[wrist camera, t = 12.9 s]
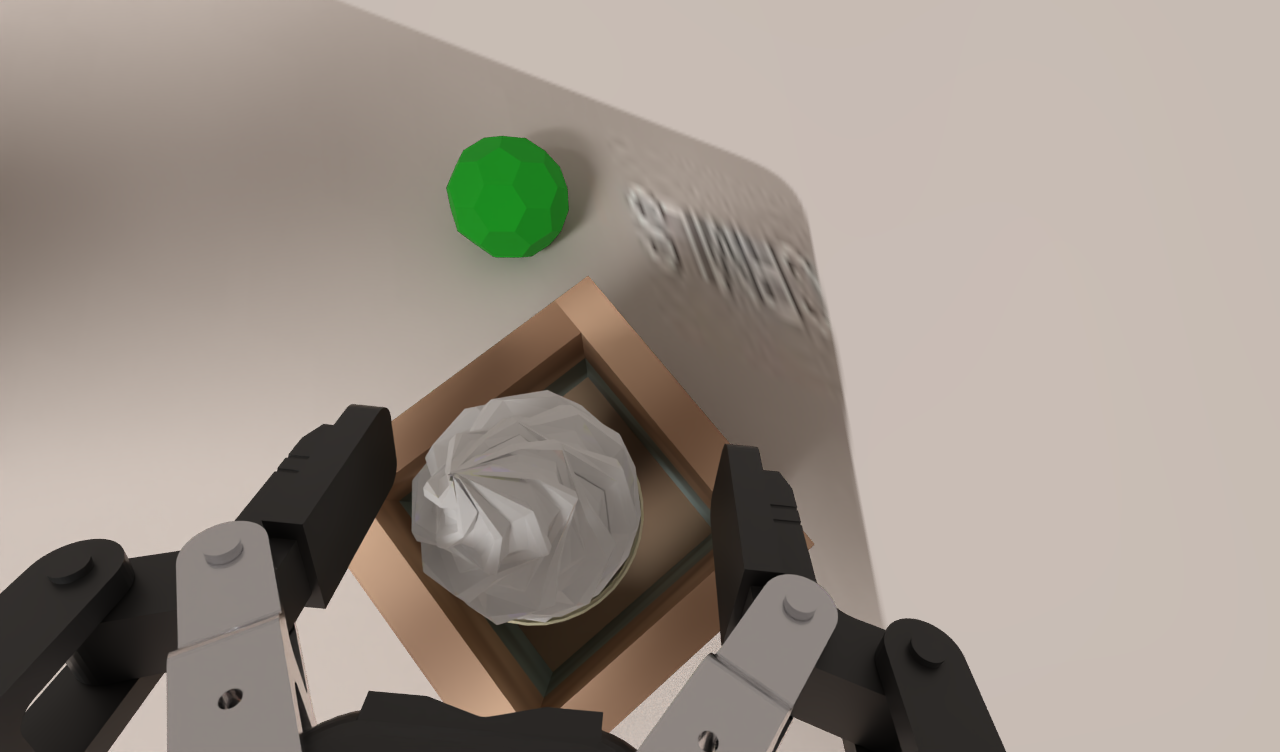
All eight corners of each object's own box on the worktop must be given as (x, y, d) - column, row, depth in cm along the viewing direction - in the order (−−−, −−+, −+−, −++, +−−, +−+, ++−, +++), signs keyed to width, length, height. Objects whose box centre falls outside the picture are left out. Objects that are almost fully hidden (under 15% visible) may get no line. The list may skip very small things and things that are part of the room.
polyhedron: (484, 163, 29) (460, 95, 24) (584, 193, 29) (580, 131, 24) (446, 257, 28) (414, 206, 23) (550, 289, 27) (538, 243, 23)
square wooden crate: (404, 499, 25) (295, 492, 16) (594, 352, 27) (588, 275, 18) (553, 701, 24) (521, 812, 15) (743, 532, 26) (814, 544, 17)
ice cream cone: (634, 446, 23) (624, 285, 9) (650, 587, 22) (669, 675, 7) (501, 462, 23) (264, 322, 8) (509, 604, 22) (242, 728, 7)
